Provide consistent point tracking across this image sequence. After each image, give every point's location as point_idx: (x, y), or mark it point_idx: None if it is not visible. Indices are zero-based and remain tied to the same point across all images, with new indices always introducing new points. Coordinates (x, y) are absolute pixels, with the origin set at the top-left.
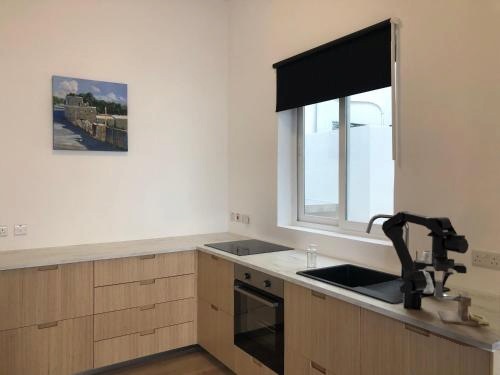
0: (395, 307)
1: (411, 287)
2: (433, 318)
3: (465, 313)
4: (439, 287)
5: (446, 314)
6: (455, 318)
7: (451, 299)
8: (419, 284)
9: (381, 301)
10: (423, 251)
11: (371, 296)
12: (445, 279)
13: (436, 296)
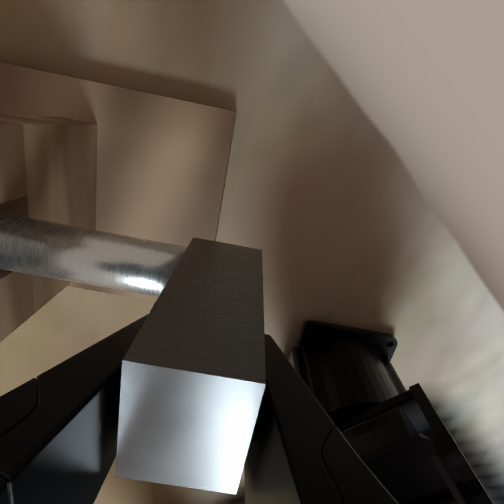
0: (438, 346)
1: (448, 433)
2: (272, 183)
3: (38, 117)
4: (205, 300)
5: (172, 239)
6: (130, 166)
7: (99, 232)
8: (375, 470)
9: (474, 424)
10: None
11: (491, 484)
12: (23, 407)
13: (248, 253)
